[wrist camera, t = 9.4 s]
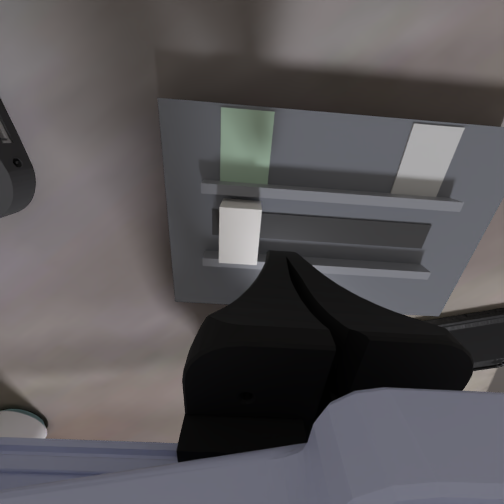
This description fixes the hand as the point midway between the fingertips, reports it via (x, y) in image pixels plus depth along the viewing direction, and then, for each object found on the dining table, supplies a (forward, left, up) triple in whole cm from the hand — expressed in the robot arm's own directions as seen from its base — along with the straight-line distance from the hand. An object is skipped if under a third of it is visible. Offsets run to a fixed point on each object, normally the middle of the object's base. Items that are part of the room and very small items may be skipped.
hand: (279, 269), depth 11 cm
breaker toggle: (0, +2, -5) cm, 6 cm away
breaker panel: (0, -4, -8) cm, 9 cm away
